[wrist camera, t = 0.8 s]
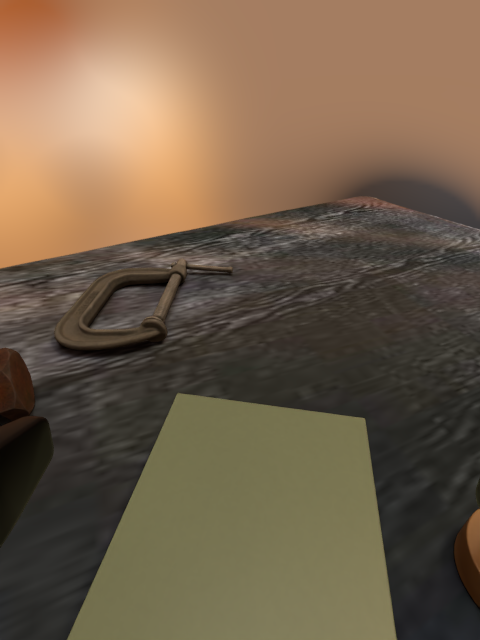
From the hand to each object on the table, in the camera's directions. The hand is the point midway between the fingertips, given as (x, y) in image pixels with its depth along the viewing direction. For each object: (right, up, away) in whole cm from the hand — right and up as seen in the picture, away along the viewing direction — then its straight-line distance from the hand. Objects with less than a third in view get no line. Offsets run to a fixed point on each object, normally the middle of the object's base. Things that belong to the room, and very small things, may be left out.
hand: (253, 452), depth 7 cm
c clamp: (-11, +4, +35) cm, 37 cm away
